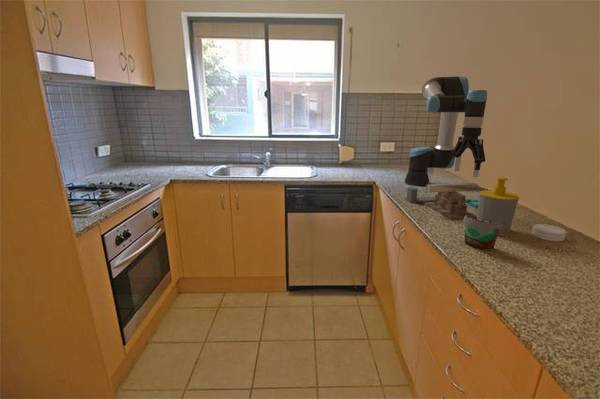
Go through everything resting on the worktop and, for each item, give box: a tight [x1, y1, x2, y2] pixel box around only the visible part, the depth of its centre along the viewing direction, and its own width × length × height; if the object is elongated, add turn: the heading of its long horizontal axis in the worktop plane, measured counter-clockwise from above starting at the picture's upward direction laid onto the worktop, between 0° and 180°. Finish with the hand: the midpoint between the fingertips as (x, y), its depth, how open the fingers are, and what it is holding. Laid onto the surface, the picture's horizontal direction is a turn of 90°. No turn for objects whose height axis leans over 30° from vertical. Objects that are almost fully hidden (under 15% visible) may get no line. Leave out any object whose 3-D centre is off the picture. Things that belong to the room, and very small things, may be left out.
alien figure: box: [465, 197, 479, 209], centre depth 157 cm, size 20×2×20 cm
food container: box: [462, 214, 503, 251], centre depth 108 cm, size 12×6×10 cm, turn 45°
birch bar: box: [425, 182, 479, 193], centre depth 144 cm, size 3×24×3 cm, turn 97°
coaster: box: [531, 223, 567, 242], centre depth 118 cm, size 10×10×4 cm
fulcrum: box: [424, 191, 477, 220], centre depth 146 cm, size 22×12×10 cm, turn 7°
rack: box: [404, 186, 435, 204], centre depth 163 cm, size 6×24×7 cm, turn 97°
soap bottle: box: [476, 176, 520, 236], centre depth 122 cm, size 13×13×21 cm
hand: (465, 173), depth 143 cm, fingers open, 13 cm apart
